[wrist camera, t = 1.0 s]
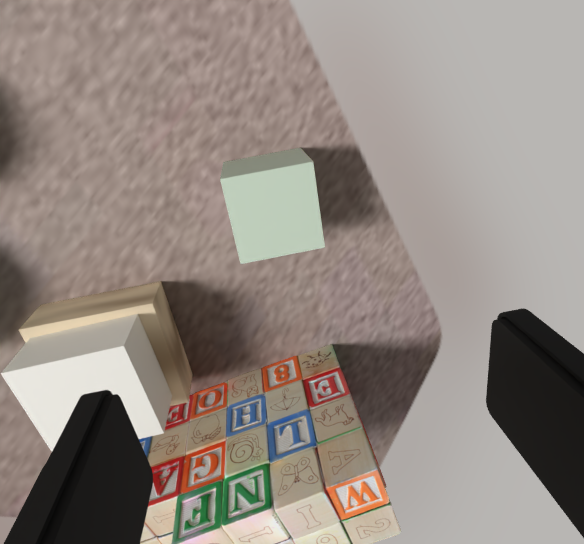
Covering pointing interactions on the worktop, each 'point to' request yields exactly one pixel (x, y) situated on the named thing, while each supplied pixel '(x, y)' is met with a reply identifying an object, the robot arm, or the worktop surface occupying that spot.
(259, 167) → the sage cube
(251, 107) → the worktop surface
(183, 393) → the tower base
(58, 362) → the tower top
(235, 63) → the worktop surface
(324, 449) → the stack of blocks
